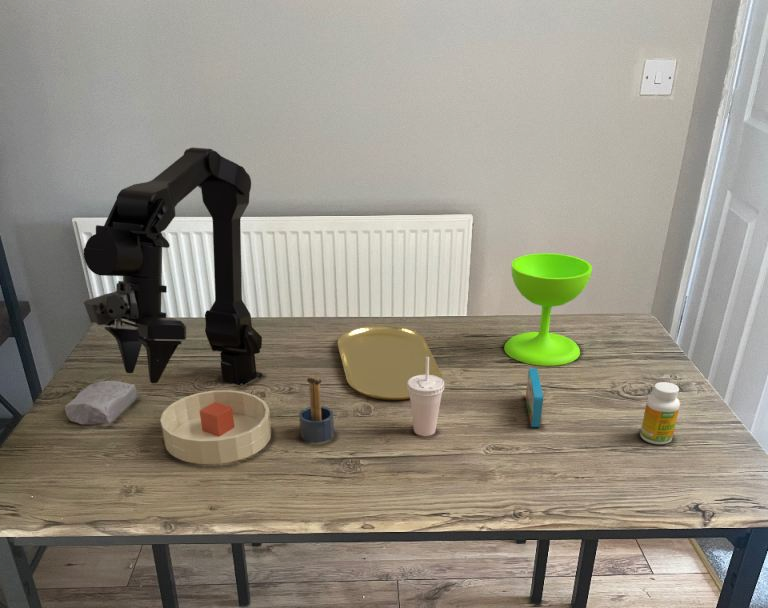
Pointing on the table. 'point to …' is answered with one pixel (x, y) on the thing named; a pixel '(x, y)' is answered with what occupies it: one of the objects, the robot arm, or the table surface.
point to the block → (217, 419)
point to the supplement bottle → (661, 414)
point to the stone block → (101, 402)
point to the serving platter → (384, 360)
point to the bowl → (207, 448)
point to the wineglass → (547, 305)
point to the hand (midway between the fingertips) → (141, 377)
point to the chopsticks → (315, 398)
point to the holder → (316, 426)
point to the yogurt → (534, 397)
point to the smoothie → (425, 401)
